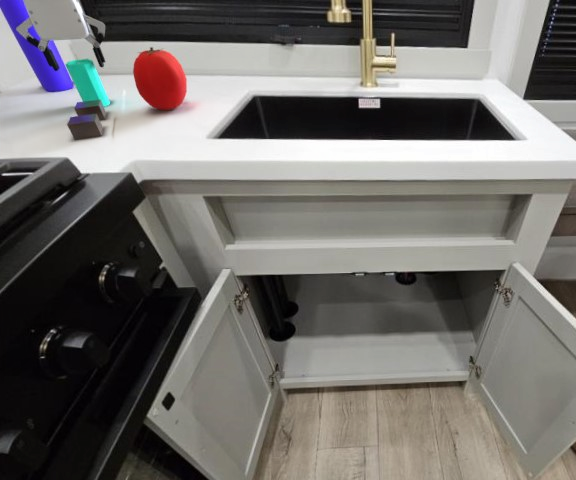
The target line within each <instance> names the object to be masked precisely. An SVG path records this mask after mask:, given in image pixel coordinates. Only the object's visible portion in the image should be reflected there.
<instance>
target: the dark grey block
mask: <svg viewBox="0 0 576 480" xmlns="http://www.w3.org/2000/svg"><path fill="white" fill-rule="evenodd" d="M66 126H67V128H68V130H69V131H70V133H71V135H72V137H73V139H74V141H79V140H85V139H93V138H100V137H102V136H103V133H104V127H103V124H102V122H101V120H99V118H98V115H97V114H90V115H82V116H78V115H76V116H75V115H74V116H70V117H69V120H68V122H67V123H66Z"/></svg>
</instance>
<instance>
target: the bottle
mask: <svg viewBox="0 0 576 480" xmlns="http://www.w3.org/2000/svg"><path fill="white" fill-rule="evenodd" d="M0 10H1V13H2V14H3V15H2V16H3V17H4V19H5V21H6V22H7V24H8V26H9V28H10V30H11V32H12V34H13V35H14V38H15V40H16V42H17V43H18V45H19V47H20V49H21V51H22V52H23V54H24V56H25V59H26V60H27V62H28V64H29V65H30V67H31V69H32V71H33V73H34V74H35V77H36V78H37V80H38V82H39V83H40V85H41V87H42V88H43V90H44V91H45V92H47V93H48V92H49V93H57V92H65V91H69V90H71V89H73V88H74V82H73V80H72V78H71V76H70V73H69V71H68V69H67V67H66V65H65V64H66V63H64V60H63V58H62V56H61V54H60V51H59V49H58V47H57V45H56V43H55V40H51V41H49V44H48V48H49V49H50V50H52V52H53V54H54V56H55V59H56V61H57V63H58V65H59V67H60V68H59V70H58V71H54V69H53V67H50V66H49V64H48V62H47V60H46V58H45V56H44V54H43V52H42V51H40V50H39V49H38V48H37V47H35V46H34V45H32V44H30V43H29V42H28V41H27V40H26V39H25V38H24V37H23V36H22V35H21V34H20V33H19V32H18V31H17V30H16V28H17V27H18V26H19V25H20V24H21V23H23V22H24V21H25V20H26V19H28V18H29V14H28V12H27V9H26V6H25V4H24V1H23V0H0ZM28 33H29V34H30V35H31V36H32V37H34V38H36V39H37V40H39V41H40V39H41V38H40V37H39V35H38V34H37V32H36V30H35V28H34V26H31V27H30V28H29V29H28Z"/></svg>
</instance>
